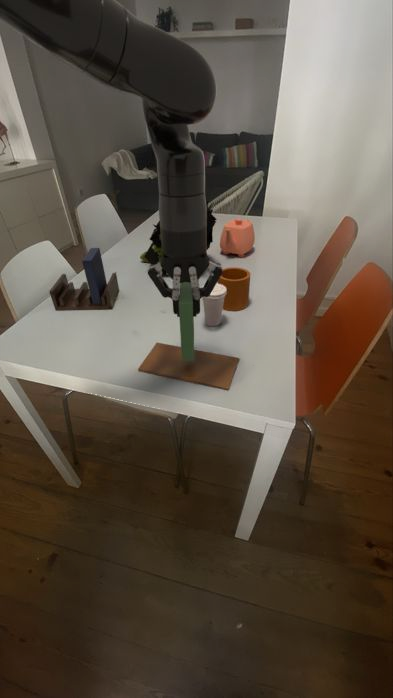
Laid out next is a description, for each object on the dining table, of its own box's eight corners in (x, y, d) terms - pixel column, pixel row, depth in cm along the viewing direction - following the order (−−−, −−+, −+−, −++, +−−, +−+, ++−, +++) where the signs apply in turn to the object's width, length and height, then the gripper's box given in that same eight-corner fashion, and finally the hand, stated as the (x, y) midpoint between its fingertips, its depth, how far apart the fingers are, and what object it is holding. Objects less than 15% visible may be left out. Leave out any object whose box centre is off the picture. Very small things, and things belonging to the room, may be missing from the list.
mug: (259, 297, 93) (262, 268, 88) (237, 314, 86) (240, 284, 80) (233, 288, 98) (235, 260, 92) (210, 304, 90) (211, 275, 85)
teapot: (231, 241, 130) (233, 210, 122) (259, 246, 125) (263, 214, 118) (210, 259, 116) (210, 225, 109) (240, 264, 112) (243, 230, 104)
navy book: (93, 304, 89) (81, 260, 81) (100, 289, 96) (90, 247, 88) (101, 304, 89) (91, 260, 81) (108, 289, 96) (99, 247, 88)
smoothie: (205, 314, 86) (205, 265, 78) (228, 318, 84) (230, 268, 76) (197, 326, 82) (196, 276, 73) (221, 331, 80) (223, 279, 71)
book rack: (55, 310, 89) (49, 291, 85) (67, 292, 98) (62, 273, 94) (112, 309, 89) (108, 290, 85) (119, 291, 98) (116, 272, 94)
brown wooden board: (138, 371, 68) (137, 369, 68) (156, 344, 76) (156, 342, 76) (228, 390, 63) (228, 388, 63) (239, 359, 71) (239, 357, 70)
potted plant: (129, 276, 109) (147, 202, 84) (150, 237, 121) (171, 163, 97) (186, 302, 112) (219, 238, 88) (201, 261, 125) (234, 195, 100)
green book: (182, 360, 63) (178, 303, 55) (183, 334, 70) (180, 280, 62) (194, 360, 63) (192, 303, 55) (194, 334, 70) (192, 280, 62)
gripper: (136, 230, 48) (149, 326, 59) (228, 229, 48) (224, 324, 59) (142, 216, 54) (153, 305, 65) (224, 215, 54) (221, 304, 64)
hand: (187, 314), depth 62 cm, fingers closed on green book, 2 cm apart
